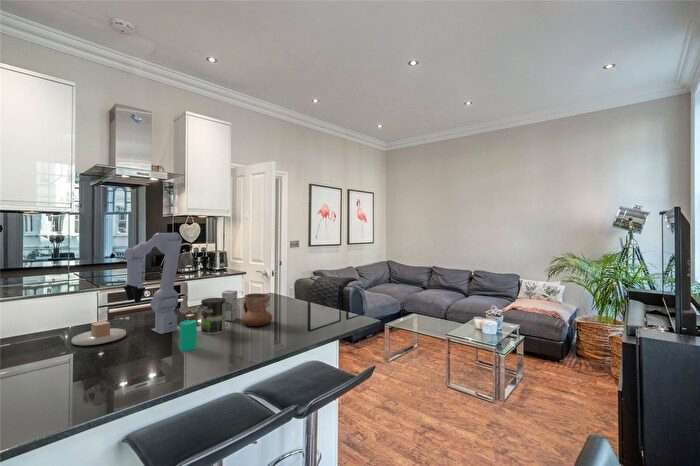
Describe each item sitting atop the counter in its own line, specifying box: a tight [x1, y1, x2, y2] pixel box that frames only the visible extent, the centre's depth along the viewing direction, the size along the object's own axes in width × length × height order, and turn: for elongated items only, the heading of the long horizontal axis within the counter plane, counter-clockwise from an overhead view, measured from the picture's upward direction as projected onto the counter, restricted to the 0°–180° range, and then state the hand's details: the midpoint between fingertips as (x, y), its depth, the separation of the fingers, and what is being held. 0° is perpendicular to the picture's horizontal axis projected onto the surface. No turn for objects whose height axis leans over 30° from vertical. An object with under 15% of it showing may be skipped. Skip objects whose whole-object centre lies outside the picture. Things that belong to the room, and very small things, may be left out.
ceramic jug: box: [241, 292, 273, 327], centre depth 162 cm, size 18×14×14 cm
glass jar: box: [200, 297, 226, 335], centre depth 150 cm, size 10×10×14 cm
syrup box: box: [221, 289, 238, 322], centre depth 168 cm, size 6×6×14 cm
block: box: [90, 320, 111, 338], centre depth 138 cm, size 5×5×5 cm
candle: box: [179, 319, 197, 352], centre depth 129 cm, size 6×6×12 cm
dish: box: [71, 328, 127, 346], centre depth 138 cm, size 18×18×2 cm
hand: (134, 301), depth 160 cm, fingers open, 7 cm apart
